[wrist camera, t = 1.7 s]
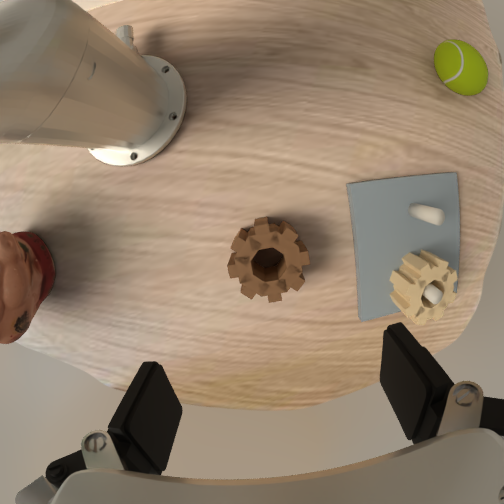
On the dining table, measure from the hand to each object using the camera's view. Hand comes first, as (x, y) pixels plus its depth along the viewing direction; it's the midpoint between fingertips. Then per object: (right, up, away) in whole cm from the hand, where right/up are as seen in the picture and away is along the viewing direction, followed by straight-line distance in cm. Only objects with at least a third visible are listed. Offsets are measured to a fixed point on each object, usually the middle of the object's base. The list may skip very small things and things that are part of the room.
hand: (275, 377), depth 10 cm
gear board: (+17, +6, +17) cm, 24 cm away
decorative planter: (-32, +2, +20) cm, 38 cm away
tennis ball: (+23, +27, +11) cm, 37 cm away
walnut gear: (+1, +5, +17) cm, 18 cm away
